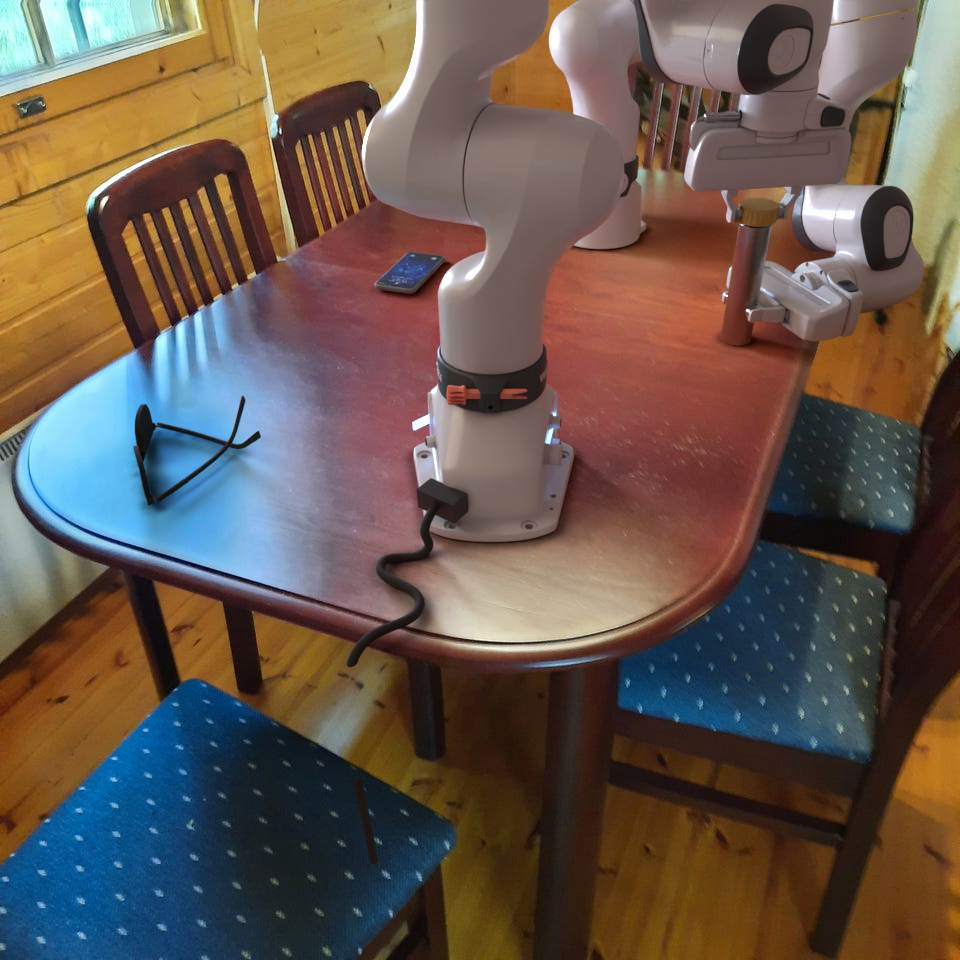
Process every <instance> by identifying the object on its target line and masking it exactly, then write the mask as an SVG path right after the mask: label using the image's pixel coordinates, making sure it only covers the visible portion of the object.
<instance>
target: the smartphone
mask: <svg viewBox="0 0 960 960" xmlns="http://www.w3.org/2000/svg"><path fill="white" fill-rule="evenodd" d="M445 261H446V258H445V257H444V256H443V255H440V254H432V253H425V252H424V253H423V252H417V251H416V252H415V251H409V252H406V253H405V254H403V256H402V257H401V258H400V259H399V260H398V261H397V262H396V263H394V265H392V266H391V267H390V268H389V269H388V270H387V271H386V272H385V273H384V274H383V275H382V276H381V277H380V278H379V279H377V280H376V281H375V282H374V286H373V287H374V288H375V289H376V290H380V291H385V292H386V291H387V292H394V293H399V294H407V295H413V294H415V293H416V292H417V291H418V290H419V289H420V288H421V287H422V286H423V285H424V284H426V281H428V279H429V278H430V277H432V276H433V274H434V273H435V272H436V271H437V270H438V269H439V268H440V267H441V266H442V265H443V263H445Z"/></svg>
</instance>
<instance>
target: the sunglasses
mask: <svg viewBox="0 0 960 960" xmlns="http://www.w3.org/2000/svg"><path fill="white" fill-rule="evenodd" d="M245 404H246V398H245V396H244V395H241V396H240V401H239V405H238V408H237V409H238V410H237V413H236V417H235V421H234V425H233V429H232V432H231V435H230V437H229V439H228V440H227V441H226V440H223V439H220V438H217V437H214V436H211V435H208V434H204V433H201V432H198V431H195V430H192V429H188V428H184V427H180V426H176V425H172V424H169V423H164V422H159V421H157V422H153V418H152V414H151V411H150V408H149V406H148V404H146V403H142V404H140V405H139V406H138V409H137V411H136V413H135V418H134V436H135V444H136V445H133V447H132V448H133V452H134V455H135V460H136V463H137V467H138V471H139V475H140V479H141V485H142V489H143V493H144V497H145V500H146V503H147V505H148V506H151V505H154V504H155V501H156V503H157V504H160V503H162V501H164V500H165V499H167V498H168V497H170V496H171V495H172V494H174V493H175V492H177V491H178V490H179V489H181V488H182V487H184V486H185V485H187V484H188V483H189V482H191V481H192V480H193V479H194V478H196V477H197V476H198V475H200V474H202V473H203V472H204V471H205V470H206V469H208V467H210V466H211V465H212V464H213V463H215V462H216V461H217V460H218V459H220V457H222V455H223V454H224V453H225V452H226V451H228V449H229V448H231V449H233V450H242V449H246V448H247V447H249V446H250V445H252V444H254V443H255V442H256V441H258V440H260V439H261V438H262V435H261V432H260V430H256V431H255V432H254V433H253V434H252V435H250V436H249V437H248V438H247V439H246V440H245V441H244V442H241V443H233V442H234V441H235V438H236V435H237V434H238V429H239V426H240V423H241V419H242V415H243V412H244V409H245ZM157 428H160V429H164V430H168V431H172V432H175V433H179V434H183V435H188V436H191V437H195V438H199V439H202V440H205V441H209V442H211V443H215V444H218V445H221V446H223V447H221V449H220V450H219V451H217V452H216V453H215V454H214V455H213V456H212V457H211V458H209V459H208V460H207V461H206V462H204V463H203V464H202V465H200V466H199V467H198V468H196V469H195V470H193V471H192V472H191V473H189V474H188V475H187V476H186V477H184V478H183V479H180V481H178V482H177V483H176V484H174V485H172V486H171V487H169V488H168V489H166V490H165V491H163V492H162V493H161V494H160V495H158V496H157V497H154V495H152V491H151V487H150V484H149V479H148V474H147V470H146V467H145V463H144V461H145V459H146V456H147V453H148V450H149V448H150V445H151V442H152V438H153V435H154V432H155V430H157Z"/></svg>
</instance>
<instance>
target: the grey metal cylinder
mask: <svg viewBox="0 0 960 960" xmlns="http://www.w3.org/2000/svg"><path fill="white" fill-rule="evenodd" d="M772 228H773V225H771V226H766V227H753V226H748V225H744V224H742V223H740V222H739V223H738V227H737V234H736V240H735V245H734V252H733V257H732V258H733V259H732V265H731V266H732V270H731V276H730V283H729V289H728V288H727V291H728V295H727V301H726V305H725V308H724V314H723V321H722V326H721V332H720V340H721V341H722V342H723V343H725V344H727V345H729V346H737V347H742V346H747V345H749V344H750V343H751V342H752V336H753V330H754V326H755V322H754V323H750V322H749V321H748V320H747V319H745V318H744V315H745V309H746V308H747V307H752V306H756V305H758V299H759V294H760V288H761V283H762V278H763V272H764V267H765V261H767V256H768V250H769V246H770V245H769V244H770V239H771V234H772Z"/></svg>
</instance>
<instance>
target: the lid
mask: <svg viewBox="0 0 960 960" xmlns="http://www.w3.org/2000/svg"><path fill="white" fill-rule="evenodd" d="M778 203H779V202H777V201H776V200H773V199H769V198H765V197H746V198H743V199H741V200H740V201H739V203H738V206H739V207H740V208H741V209H742V210H743V213H742V216H741V218H742V219H741V222H740V223H742V224H744V225H748V226H753V227H766V226H771V225H772V226H773V225H775V224H777V221H778V220H777V217H778V212H779V209H778V208H779V204H778Z"/></svg>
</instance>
